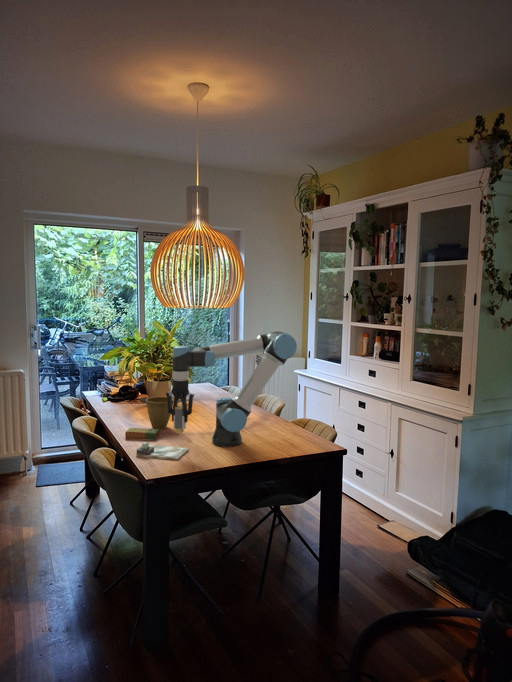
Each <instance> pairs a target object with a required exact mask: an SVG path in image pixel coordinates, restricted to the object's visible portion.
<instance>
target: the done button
mask: <svg viewBox="0 0 512 682" xmlns="http://www.w3.org/2000/svg"><path fill="white" fill-rule="evenodd" d="M149 445H150V444H149V442H148V441H147V442H145V441H144V442H142V444H141V446H142V450H148V449H149Z"/></svg>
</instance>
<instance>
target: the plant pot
mask: <svg viewBox="0 0 512 682" xmlns="http://www.w3.org/2000/svg"><path fill="white" fill-rule="evenodd" d="M145 402H146V408H147V413H148V417H149V421H150V424H151V427H152V429H160V430H165V429H166V428H167V426H168V423H169V421H170V418H171V416H172V414H170V413H168V401H167V396H153V397H148V398H146V399H145ZM173 404H174V398H172V407H173Z"/></svg>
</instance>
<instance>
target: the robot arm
mask: <svg viewBox="0 0 512 682" xmlns="http://www.w3.org/2000/svg"><path fill="white" fill-rule="evenodd" d="M297 348H298V345H297V341H296V339H295V338H294V337H293V336H292V335H291V334H289V333H288V332H287V333H286V332H283V331H272V332H268V333H265V334H260V335H259V334H258V336H257V337H253V338H248V339H241V340H237V341H236V340H234V341H229V342H224V343H219V344H218V343H217V344H211V345H206V346H196V347H193V349H191V350H190V347H189V346H187V345H176V346H174V347H173V348H172V370H171V371H172V375H171V376H172V377H171V378H172V382H171V384H172V385H171V387H172V388H171V390H170V391H166V392H165V395H166V397H167V401H168V413H170V414H171V422H173V430H175V407H176V406H179V404H178V403H179V400H180V401H181V404H182V405H181V406H183V412H184V415H183V416H182V430H184V431H185V429H186V428H187V427H186V426H187V425H186V423H188V421H189V419H188V416H190V415H192V413H193V402H194V401H193V399H194V397H195V393H191V392H190V390H189V377H190V376H189V374H190V367H191V368H209V367H210V368H212V367H214V366H215V363H216V361H218V360H223V359H228V358H235V357H240V356H241V357H242V356H246V355H252V354H257V353H258V354H259V353H260V354H262V355H263V357H262V359H261V360H260V362H258V364H257V366H256V367H255V369H254V370H253V371H252V373H251V375H250V376H249V377H248V378H247V380H246V382H245V383H244V385H243V387H241V389H240V390H239V392H238V394H237V395H236V396H234V397H218V398H217V399H216V402H215V405H216V406H215V409H216V410H215V411H216V412H215V413H216V414H215V429H214V431H213V434H212V435H213V436H212V438H211V439H212V441H211V442H212V444H213V445H215V446H217V447H223V448H225V447H227V448H229V447H237V446H240V445H242V443H243V438H242V434H241V431H242V430H243V429H244V428H245V427H246V425H247V422H248V418H249V416H250V414H251V413H252V409H251V408H252V406H253V405H254V403H255V401H256V400H257V399H258V397H259V395H260V394H261V393H262V391H263V390H264V388H265V387H266V385H267V384H268V383H269V381H270V380H271V378H272V377H273V375H274V374H275V373H276V371H277V370H278V368H279V367H280V366H284V365H285V363H286V362H287V361H288V359H291V358H292V357H293V356H294V355H295V354H296V352H297ZM172 396H173V398H172ZM187 396H188V403H187ZM172 399H173V406H172ZM187 404H188V405H187Z"/></svg>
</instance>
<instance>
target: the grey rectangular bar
mask: <svg viewBox="0 0 512 682" xmlns="http://www.w3.org/2000/svg"><path fill="white" fill-rule="evenodd" d="M183 415H184V412H183V406H182V405H177V406H176V407H175V429H174V431H175V433H178V434H179V433H180V434H182V433H184V431H185V429H184V430H182V416H183Z"/></svg>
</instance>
